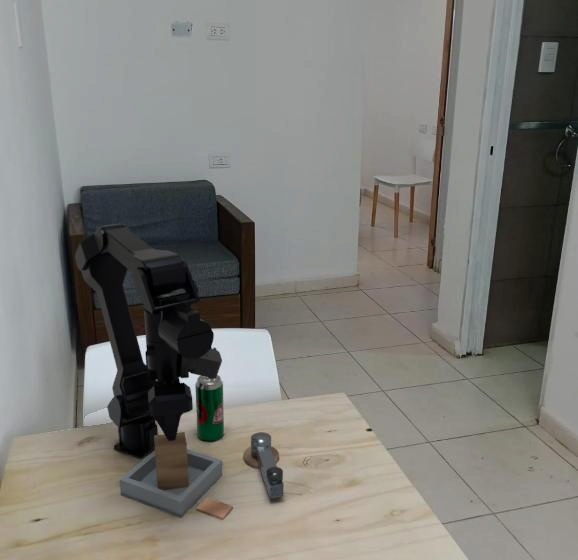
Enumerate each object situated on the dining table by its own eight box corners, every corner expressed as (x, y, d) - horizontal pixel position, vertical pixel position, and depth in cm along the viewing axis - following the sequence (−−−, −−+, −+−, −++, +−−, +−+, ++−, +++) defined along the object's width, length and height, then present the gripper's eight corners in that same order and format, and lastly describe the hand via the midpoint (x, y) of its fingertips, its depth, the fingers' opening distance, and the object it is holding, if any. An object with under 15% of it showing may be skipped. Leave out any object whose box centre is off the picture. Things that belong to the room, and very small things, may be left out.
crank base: (192, 508, 98) (192, 505, 98) (254, 443, 115) (254, 441, 115) (226, 521, 95) (226, 518, 95) (284, 452, 113) (284, 450, 112)
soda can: (219, 444, 115) (217, 386, 111) (193, 440, 116) (191, 383, 112) (227, 429, 120) (226, 373, 116) (202, 426, 121) (200, 371, 117)
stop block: (156, 476, 105) (154, 435, 102) (186, 472, 106) (184, 431, 103) (157, 491, 101) (155, 449, 98) (188, 486, 102) (186, 445, 100)
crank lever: (249, 449, 112) (249, 430, 111) (268, 447, 113) (268, 427, 112) (265, 500, 99) (265, 478, 98) (287, 497, 100) (287, 475, 99)
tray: (120, 494, 101) (119, 479, 100) (165, 456, 111) (164, 441, 110) (181, 517, 96) (180, 501, 95) (222, 475, 106) (222, 460, 105)
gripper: (226, 356, 88) (228, 450, 93) (209, 309, 105) (212, 391, 110) (145, 363, 85) (152, 460, 90) (142, 315, 103) (148, 398, 107)
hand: (170, 424), depth 100 cm, fingers open, 9 cm apart
